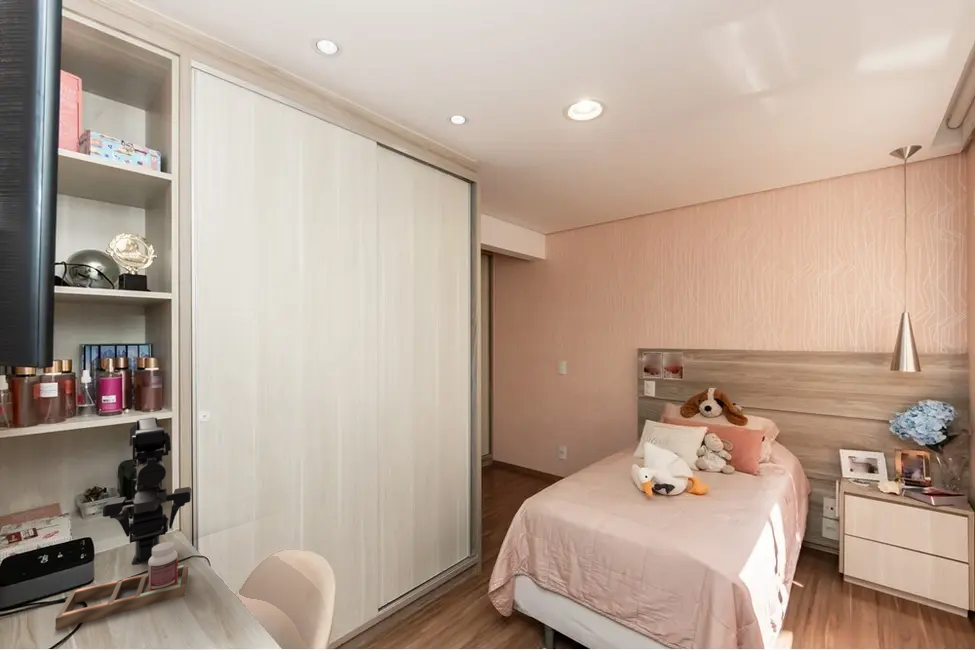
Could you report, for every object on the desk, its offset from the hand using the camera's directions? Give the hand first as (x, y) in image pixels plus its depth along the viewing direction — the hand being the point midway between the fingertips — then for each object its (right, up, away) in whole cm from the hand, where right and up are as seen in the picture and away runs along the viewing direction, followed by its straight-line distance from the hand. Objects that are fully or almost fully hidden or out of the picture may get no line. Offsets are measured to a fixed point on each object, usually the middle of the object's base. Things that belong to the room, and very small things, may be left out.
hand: (149, 532), depth 119 cm
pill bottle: (+8, -12, -6) cm, 16 cm away
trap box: (+3, -12, -10) cm, 16 cm away
